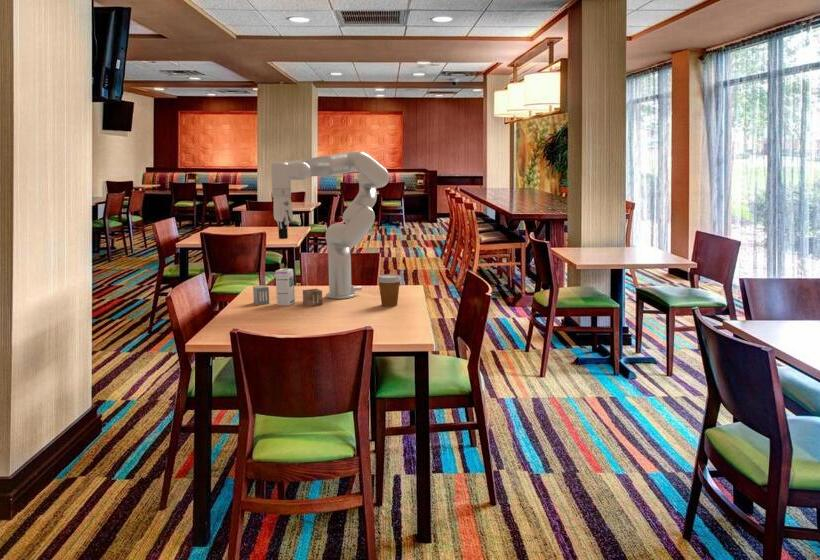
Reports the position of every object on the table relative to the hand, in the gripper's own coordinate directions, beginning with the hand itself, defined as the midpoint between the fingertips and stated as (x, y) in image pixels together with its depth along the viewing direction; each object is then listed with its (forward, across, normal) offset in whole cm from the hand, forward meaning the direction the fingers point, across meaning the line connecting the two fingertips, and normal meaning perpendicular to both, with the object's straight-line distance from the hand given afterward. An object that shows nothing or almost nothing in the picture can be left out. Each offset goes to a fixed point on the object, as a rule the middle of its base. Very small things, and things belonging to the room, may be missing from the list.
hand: (283, 238), depth 293 cm
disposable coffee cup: (+27, -25, -35) cm, 51 cm away
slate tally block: (+27, +7, +8) cm, 29 cm away
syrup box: (+27, 0, 0) cm, 27 cm away
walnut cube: (+27, -7, -9) cm, 29 cm away
